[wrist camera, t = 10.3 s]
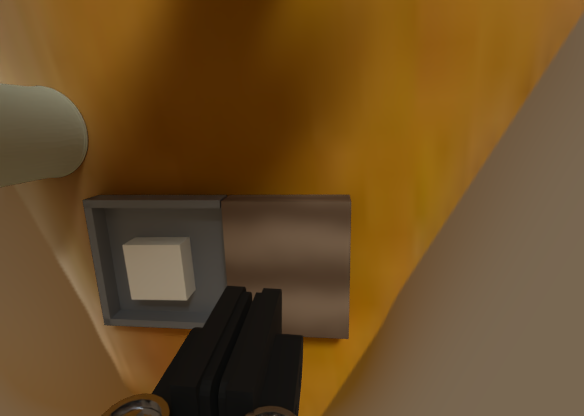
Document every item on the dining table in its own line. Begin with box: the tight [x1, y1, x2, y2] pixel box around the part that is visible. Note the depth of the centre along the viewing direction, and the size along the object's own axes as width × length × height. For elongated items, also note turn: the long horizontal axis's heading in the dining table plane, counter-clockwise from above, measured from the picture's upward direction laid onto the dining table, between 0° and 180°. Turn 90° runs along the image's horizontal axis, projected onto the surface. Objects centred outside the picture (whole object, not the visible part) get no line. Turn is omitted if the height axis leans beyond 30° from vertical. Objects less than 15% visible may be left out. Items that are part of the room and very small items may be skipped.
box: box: [83, 195, 227, 329], centre depth 36 cm, size 14×14×2 cm
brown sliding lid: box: [221, 195, 351, 339], centre depth 34 cm, size 14×12×3 cm
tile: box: [122, 237, 196, 300], centre depth 36 cm, size 6×6×2 cm
